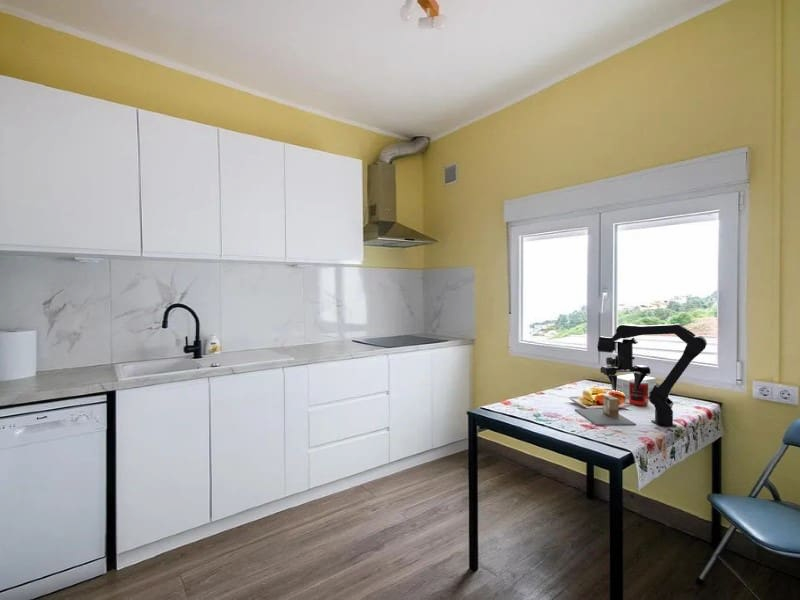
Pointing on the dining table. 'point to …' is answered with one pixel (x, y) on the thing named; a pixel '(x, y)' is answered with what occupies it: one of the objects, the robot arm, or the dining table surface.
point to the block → (610, 406)
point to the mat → (603, 417)
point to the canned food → (638, 393)
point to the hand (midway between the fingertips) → (625, 390)
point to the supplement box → (624, 383)
